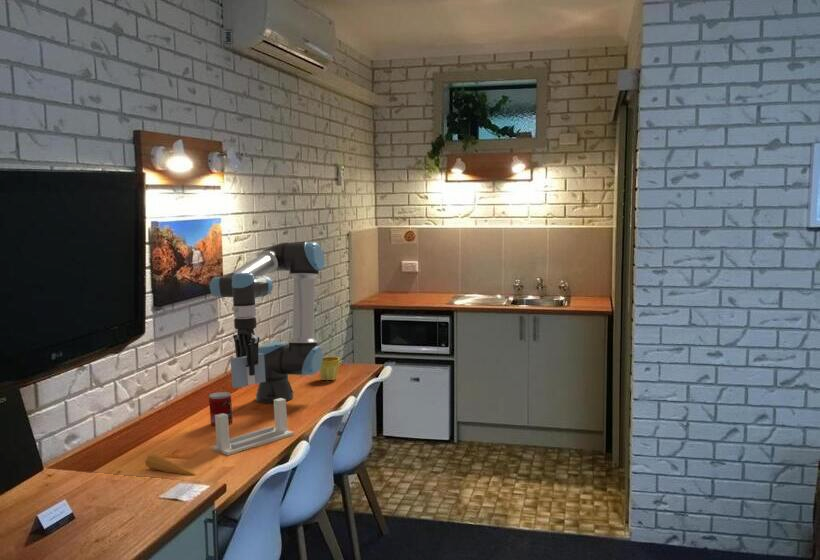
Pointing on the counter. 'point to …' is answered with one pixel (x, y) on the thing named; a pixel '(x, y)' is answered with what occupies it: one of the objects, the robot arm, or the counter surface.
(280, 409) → the panel stand
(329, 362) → the plant pot
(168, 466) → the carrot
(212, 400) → the canned food
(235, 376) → the door panel
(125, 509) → the counter surface
